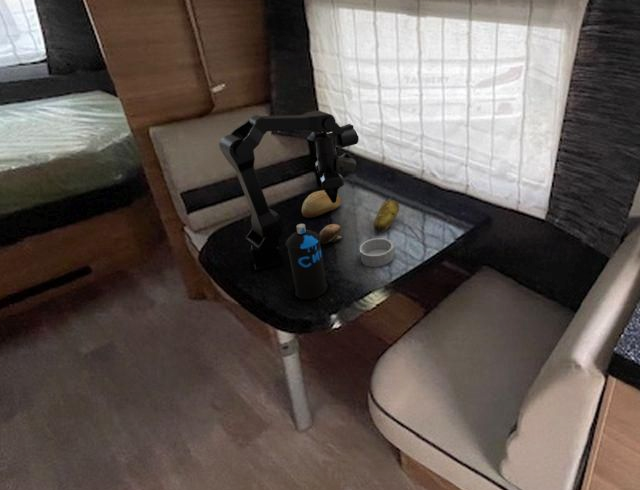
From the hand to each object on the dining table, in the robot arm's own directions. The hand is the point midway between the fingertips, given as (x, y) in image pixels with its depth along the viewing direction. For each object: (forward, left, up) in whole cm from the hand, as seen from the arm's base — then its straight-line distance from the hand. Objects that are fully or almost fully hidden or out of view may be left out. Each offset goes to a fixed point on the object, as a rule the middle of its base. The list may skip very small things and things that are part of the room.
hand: (331, 196), depth 136 cm
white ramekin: (+8, -21, -13) cm, 26 cm away
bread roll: (-2, +17, -14) cm, 22 cm away
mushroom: (-3, -5, -14) cm, 15 cm away
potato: (+16, -3, -14) cm, 21 cm away
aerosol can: (-12, -28, -14) cm, 33 cm away
